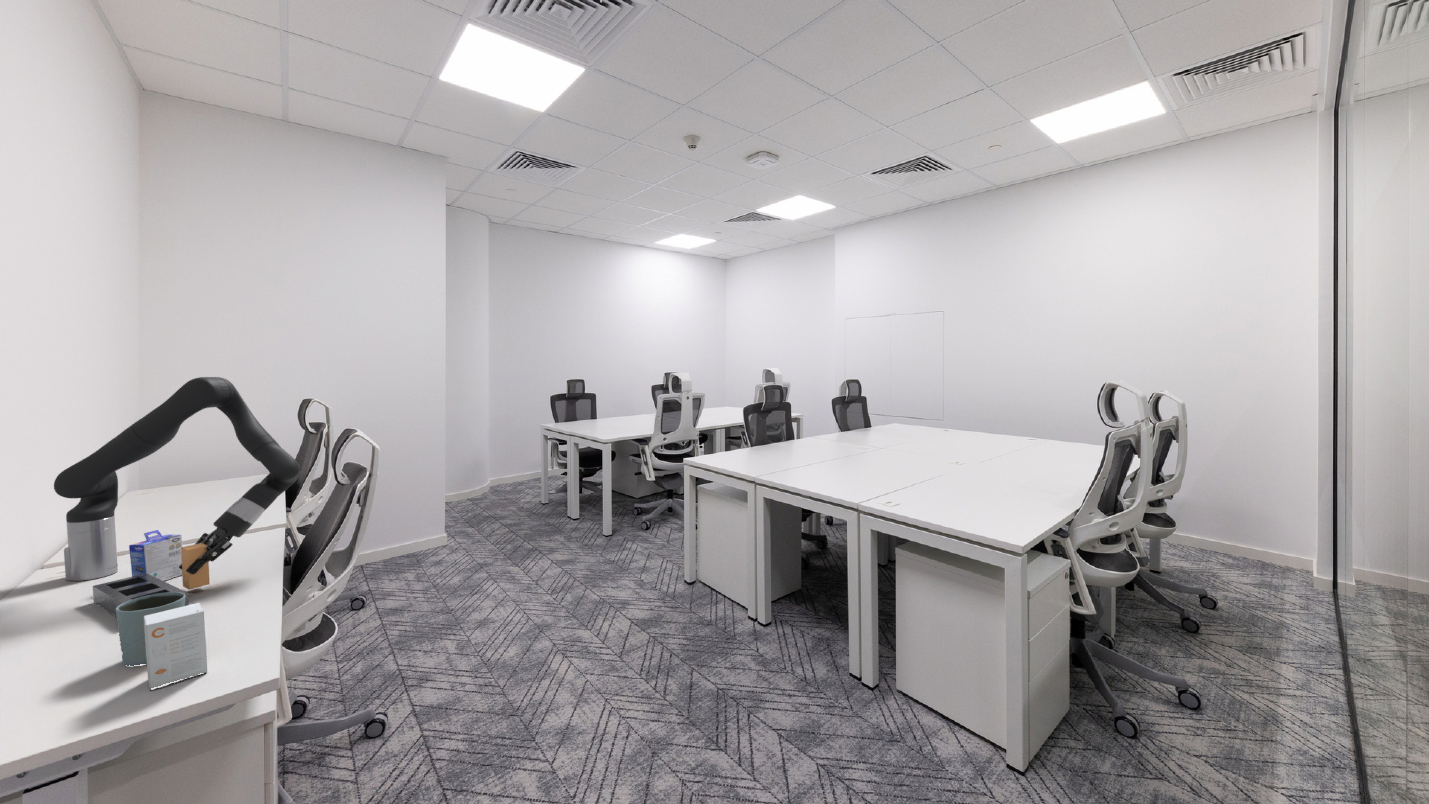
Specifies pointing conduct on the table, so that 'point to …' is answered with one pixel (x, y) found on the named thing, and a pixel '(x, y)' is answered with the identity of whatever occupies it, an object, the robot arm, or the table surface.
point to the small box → (175, 644)
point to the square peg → (188, 558)
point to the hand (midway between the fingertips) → (186, 570)
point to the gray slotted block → (130, 591)
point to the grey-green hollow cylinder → (141, 622)
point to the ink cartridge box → (157, 556)
